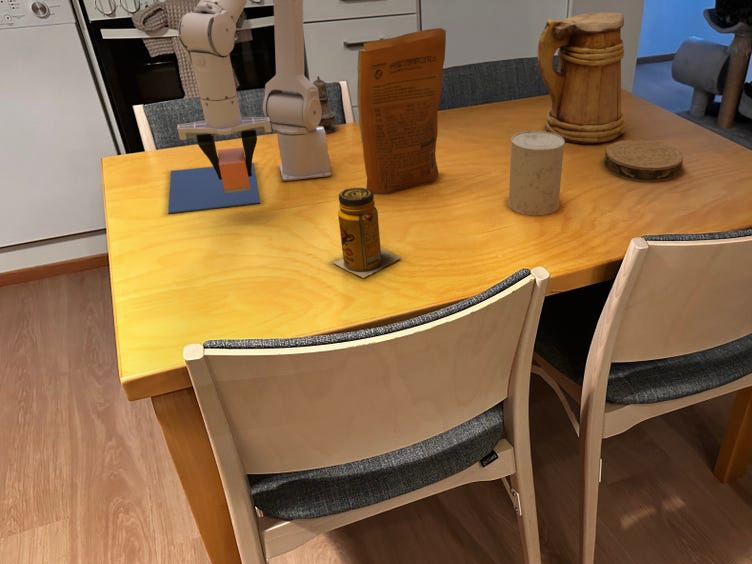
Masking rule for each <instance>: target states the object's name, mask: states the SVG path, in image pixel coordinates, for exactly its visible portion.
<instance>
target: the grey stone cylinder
mask: <svg viewBox="0 0 752 564" xmlns="http://www.w3.org/2000/svg"><path fill="white" fill-rule="evenodd" d="M510 142H511V144H510V145H511V147H510V163H509V187H508V189H509V190H508V201H507V204H508V207H509V208H510V209H511V210H512V211H514V212H516V213H518V214H522V215H527V216H544V215H550V214H553V213H554V212H557V210H558V209H559V207H560V204H559V203H560V193H561V180H562V171H563V159H564V149H565V143H566V141H564V139H563V138H562V137H561V136H559V135H557V134H554V133H551V132H548V131H544V130H526V131H521V132H517V133H514V134H513V135H512V137H511V138H510Z"/></svg>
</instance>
